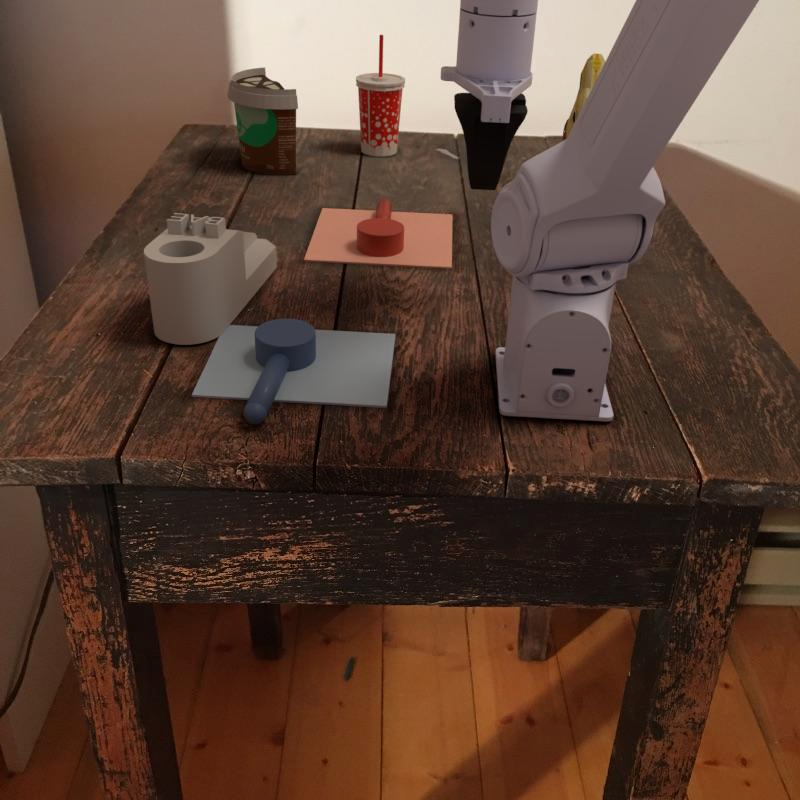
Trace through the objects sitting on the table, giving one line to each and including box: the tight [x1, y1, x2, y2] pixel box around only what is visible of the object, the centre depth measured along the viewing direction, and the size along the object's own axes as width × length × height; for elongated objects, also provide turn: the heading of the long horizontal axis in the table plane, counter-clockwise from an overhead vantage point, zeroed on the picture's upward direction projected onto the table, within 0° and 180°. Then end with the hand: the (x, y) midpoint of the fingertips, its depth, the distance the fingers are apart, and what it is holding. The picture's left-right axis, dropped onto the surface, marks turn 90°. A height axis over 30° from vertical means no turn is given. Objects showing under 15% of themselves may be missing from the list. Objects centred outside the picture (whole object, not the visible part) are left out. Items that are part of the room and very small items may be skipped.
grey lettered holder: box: [143, 212, 278, 346], centre depth 77 cm, size 6×18×8 cm, turn 168°
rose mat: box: [303, 207, 454, 270], centre depth 92 cm, size 14×14×1 cm
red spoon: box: [357, 198, 404, 257], centre depth 92 cm, size 12×5×2 cm, turn 178°
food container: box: [227, 67, 299, 176], centre depth 108 cm, size 12×6×10 cm, turn 25°
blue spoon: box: [242, 318, 316, 425], centre depth 67 cm, size 12×5×2 cm, turn 173°
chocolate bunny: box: [562, 53, 606, 141], centre depth 103 cm, size 7×11×15 cm, turn 174°
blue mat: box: [191, 324, 397, 409], centre depth 70 cm, size 11×14×1 cm
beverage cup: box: [355, 34, 406, 157], centre depth 113 cm, size 6×6×14 cm
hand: (482, 187), depth 75 cm, fingers closed
